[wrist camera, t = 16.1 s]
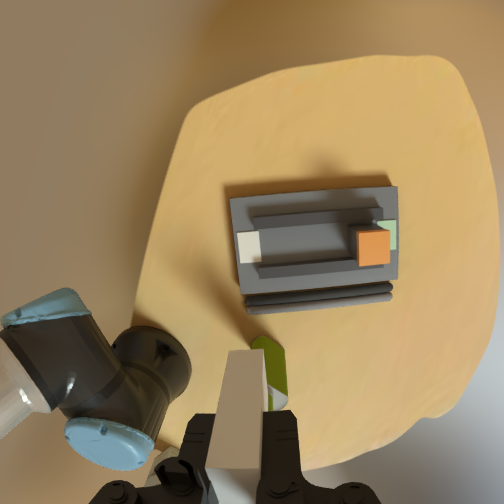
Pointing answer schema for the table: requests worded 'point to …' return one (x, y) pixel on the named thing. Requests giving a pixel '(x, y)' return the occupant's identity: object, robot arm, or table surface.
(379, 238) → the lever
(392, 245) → the panel
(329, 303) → the grey twin rods
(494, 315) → the table surface
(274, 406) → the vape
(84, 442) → the robot arm
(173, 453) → the ink box
